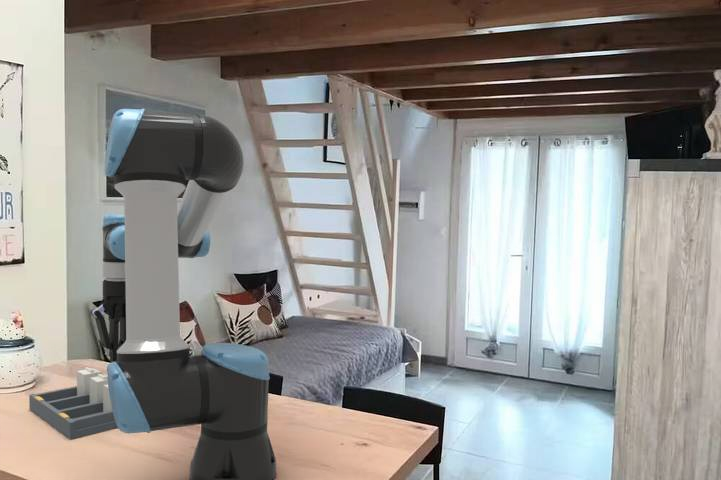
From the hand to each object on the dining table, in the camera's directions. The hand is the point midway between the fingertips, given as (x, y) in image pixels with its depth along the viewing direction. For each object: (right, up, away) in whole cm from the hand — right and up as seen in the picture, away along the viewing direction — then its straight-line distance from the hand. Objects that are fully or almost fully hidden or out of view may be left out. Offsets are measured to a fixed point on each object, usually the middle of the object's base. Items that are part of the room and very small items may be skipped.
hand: (118, 375), depth 149 cm
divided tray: (-3, -6, -12) cm, 14 cm away
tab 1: (+5, -5, -14) cm, 16 cm away
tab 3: (-5, -4, -5) cm, 8 cm away
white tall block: (0, -4, -10) cm, 11 cm away
